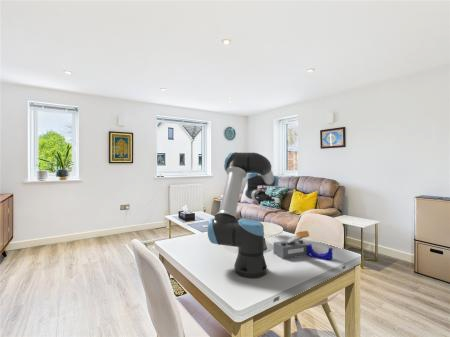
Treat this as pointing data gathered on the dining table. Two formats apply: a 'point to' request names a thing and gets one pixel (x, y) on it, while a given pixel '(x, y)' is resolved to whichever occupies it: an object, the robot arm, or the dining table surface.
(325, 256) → the cable clip
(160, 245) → the dining table surface
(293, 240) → the breaker lever
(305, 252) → the block
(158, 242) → the dining table surface
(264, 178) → the robot arm
